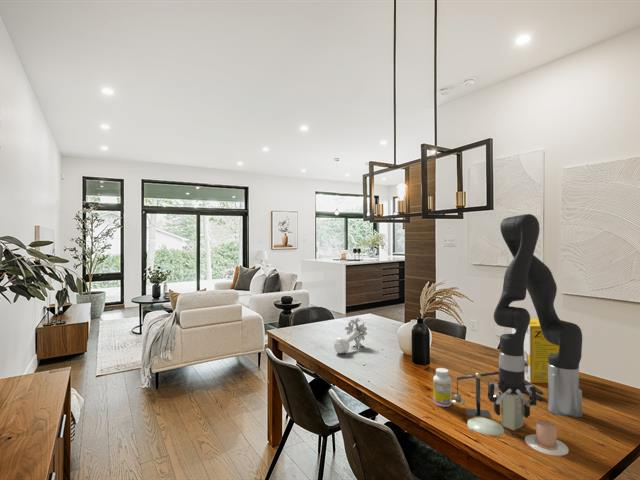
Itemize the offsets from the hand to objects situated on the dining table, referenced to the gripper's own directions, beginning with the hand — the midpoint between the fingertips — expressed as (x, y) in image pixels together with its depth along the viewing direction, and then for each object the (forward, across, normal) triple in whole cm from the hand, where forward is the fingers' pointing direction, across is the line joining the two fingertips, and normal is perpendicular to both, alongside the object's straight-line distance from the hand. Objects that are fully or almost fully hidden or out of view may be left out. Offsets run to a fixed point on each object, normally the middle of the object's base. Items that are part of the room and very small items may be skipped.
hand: (511, 415), depth 116 cm
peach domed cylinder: (+3, -6, +10) cm, 12 cm away
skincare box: (+5, 0, 0) cm, 5 cm away
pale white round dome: (+4, +9, +2) cm, 10 cm away
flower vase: (+5, +61, -75) cm, 97 cm away
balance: (+4, +9, -7) cm, 12 cm away
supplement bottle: (+5, +20, -15) cm, 25 cm away
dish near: (+4, -6, +10) cm, 13 cm away
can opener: (+5, -15, -32) cm, 36 cm away
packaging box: (+4, -28, -51) cm, 58 cm away
